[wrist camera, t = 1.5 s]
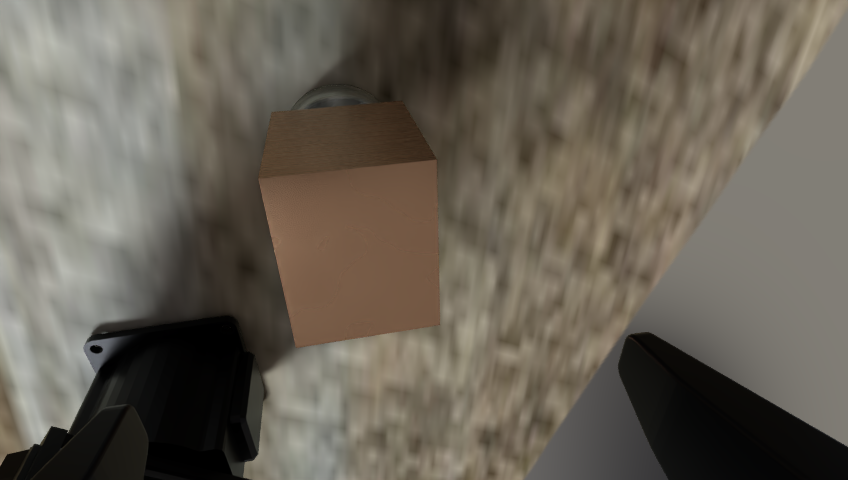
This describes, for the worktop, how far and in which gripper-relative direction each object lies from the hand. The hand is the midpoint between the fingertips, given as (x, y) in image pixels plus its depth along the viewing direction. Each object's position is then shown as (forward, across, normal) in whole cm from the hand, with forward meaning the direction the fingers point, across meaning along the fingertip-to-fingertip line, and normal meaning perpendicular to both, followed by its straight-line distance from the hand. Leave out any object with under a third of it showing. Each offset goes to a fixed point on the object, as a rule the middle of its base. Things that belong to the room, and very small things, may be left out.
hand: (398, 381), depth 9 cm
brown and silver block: (+13, +1, 0) cm, 13 cm away
